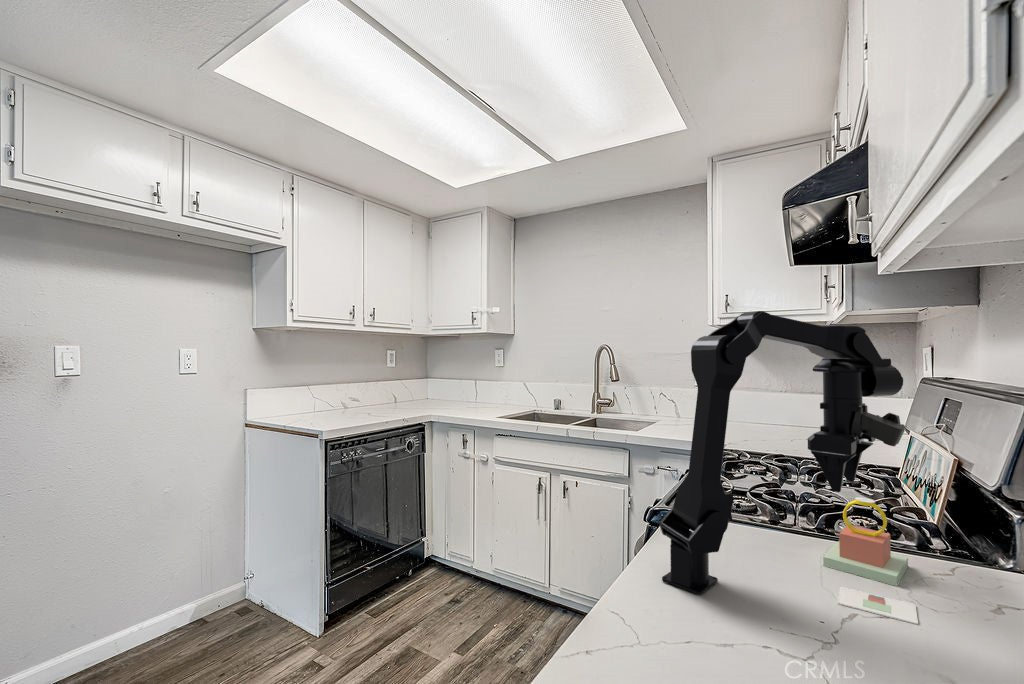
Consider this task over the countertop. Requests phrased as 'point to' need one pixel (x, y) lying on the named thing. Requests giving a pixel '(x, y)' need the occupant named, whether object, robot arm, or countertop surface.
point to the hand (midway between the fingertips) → (843, 486)
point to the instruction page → (878, 605)
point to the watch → (865, 503)
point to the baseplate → (868, 566)
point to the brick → (865, 547)
